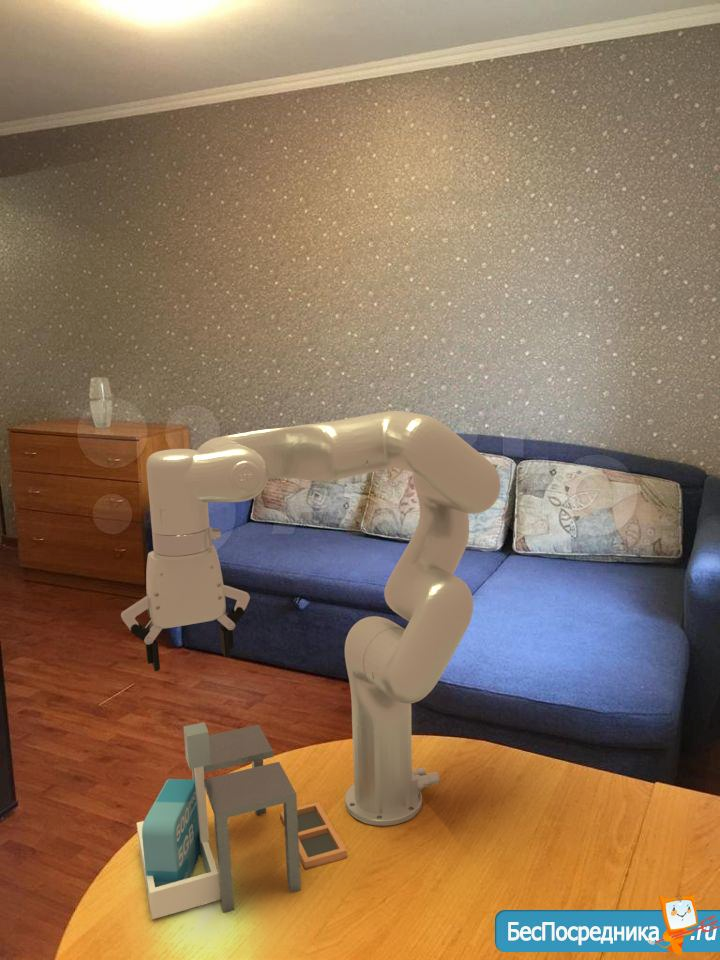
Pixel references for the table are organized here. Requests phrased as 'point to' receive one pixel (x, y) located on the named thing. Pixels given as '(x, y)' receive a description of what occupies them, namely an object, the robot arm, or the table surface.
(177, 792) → the data package
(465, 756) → the table surface
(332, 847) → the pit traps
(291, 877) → the tunnel
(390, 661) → the robot arm
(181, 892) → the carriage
